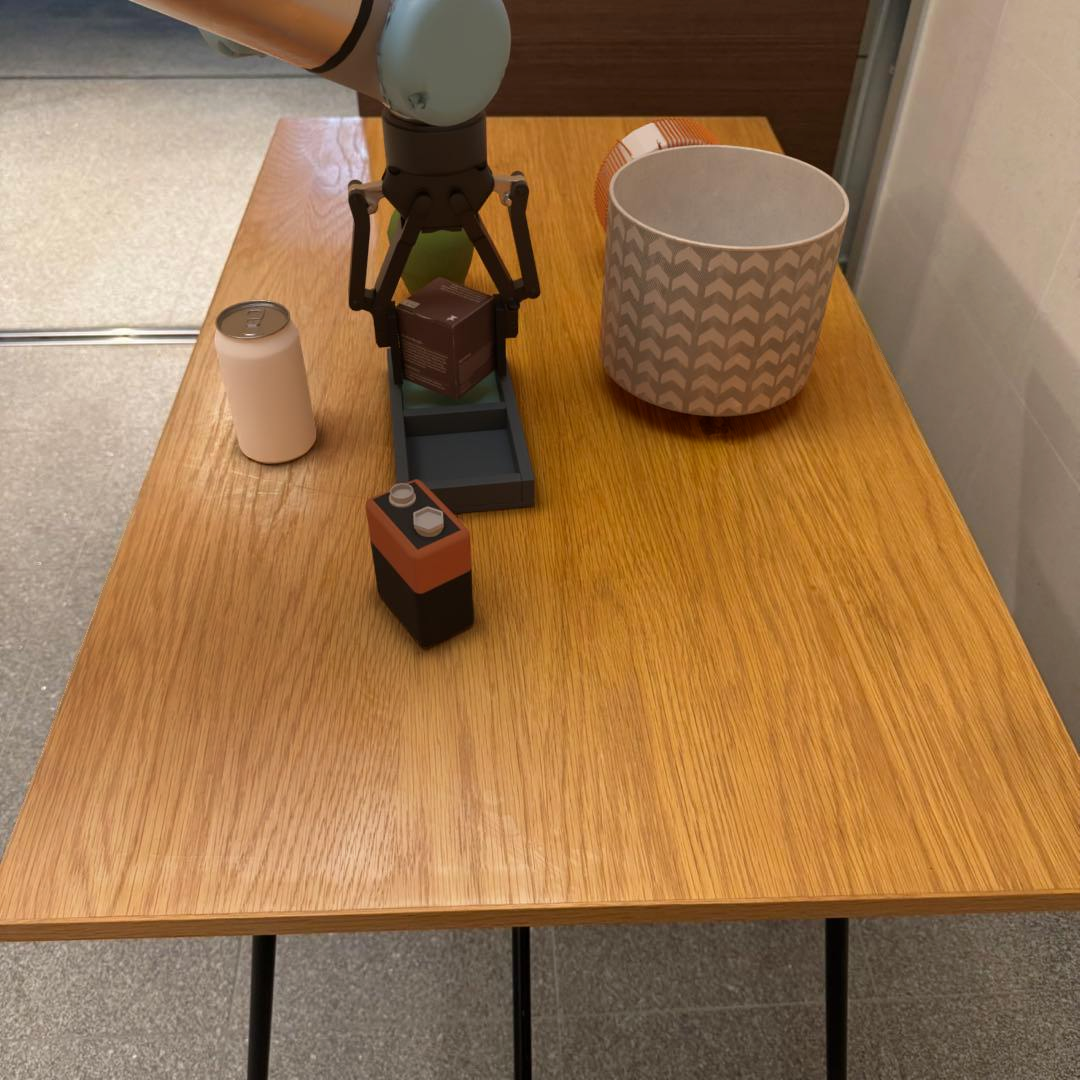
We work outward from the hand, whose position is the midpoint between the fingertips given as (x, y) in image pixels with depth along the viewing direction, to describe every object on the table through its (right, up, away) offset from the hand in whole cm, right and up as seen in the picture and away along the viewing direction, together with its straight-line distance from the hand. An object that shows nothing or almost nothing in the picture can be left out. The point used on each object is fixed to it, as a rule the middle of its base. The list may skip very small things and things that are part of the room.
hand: (449, 371), depth 87 cm
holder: (+1, -6, -1) cm, 6 cm away
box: (0, 0, 0) cm, 1 cm away
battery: (0, -20, -16) cm, 25 cm away
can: (-14, -7, -2) cm, 16 cm away
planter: (+23, 0, +5) cm, 23 cm away
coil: (+21, +15, +21) cm, 34 cm away
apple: (-3, +9, +15) cm, 18 cm away
